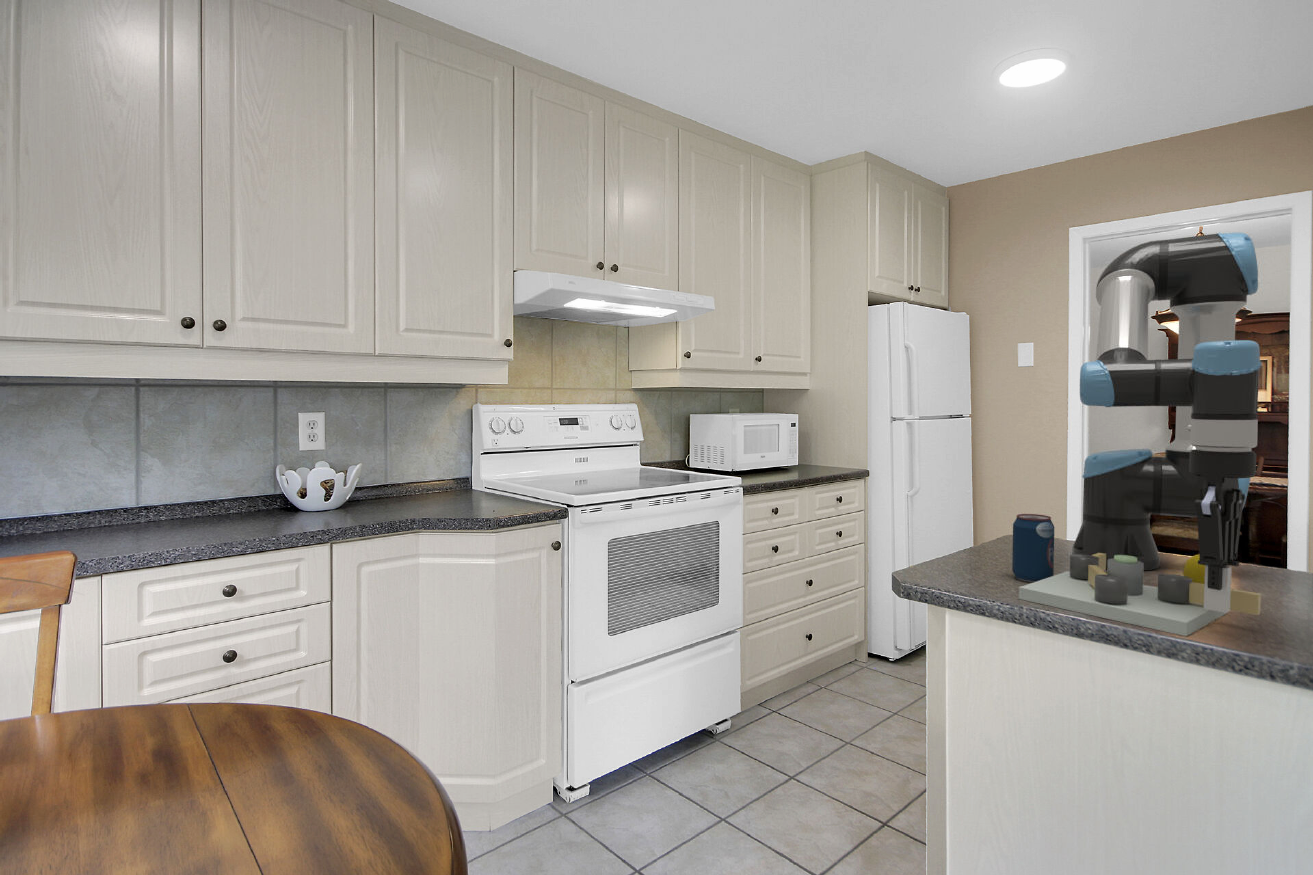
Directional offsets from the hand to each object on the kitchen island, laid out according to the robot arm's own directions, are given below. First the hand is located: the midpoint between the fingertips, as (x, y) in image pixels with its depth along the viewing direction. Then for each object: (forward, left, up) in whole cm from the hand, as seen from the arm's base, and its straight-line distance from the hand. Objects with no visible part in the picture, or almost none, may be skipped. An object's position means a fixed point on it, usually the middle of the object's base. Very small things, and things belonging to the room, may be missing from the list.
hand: (1216, 609), depth 103 cm
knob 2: (-5, -3, -1) cm, 6 cm away
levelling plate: (-3, -14, -3) cm, 15 cm away
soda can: (-9, -31, -4) cm, 33 cm away
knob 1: (-12, -22, -1) cm, 25 cm away
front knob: (-1, -15, -1) cm, 16 cm away
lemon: (-18, -7, -4) cm, 20 cm away
